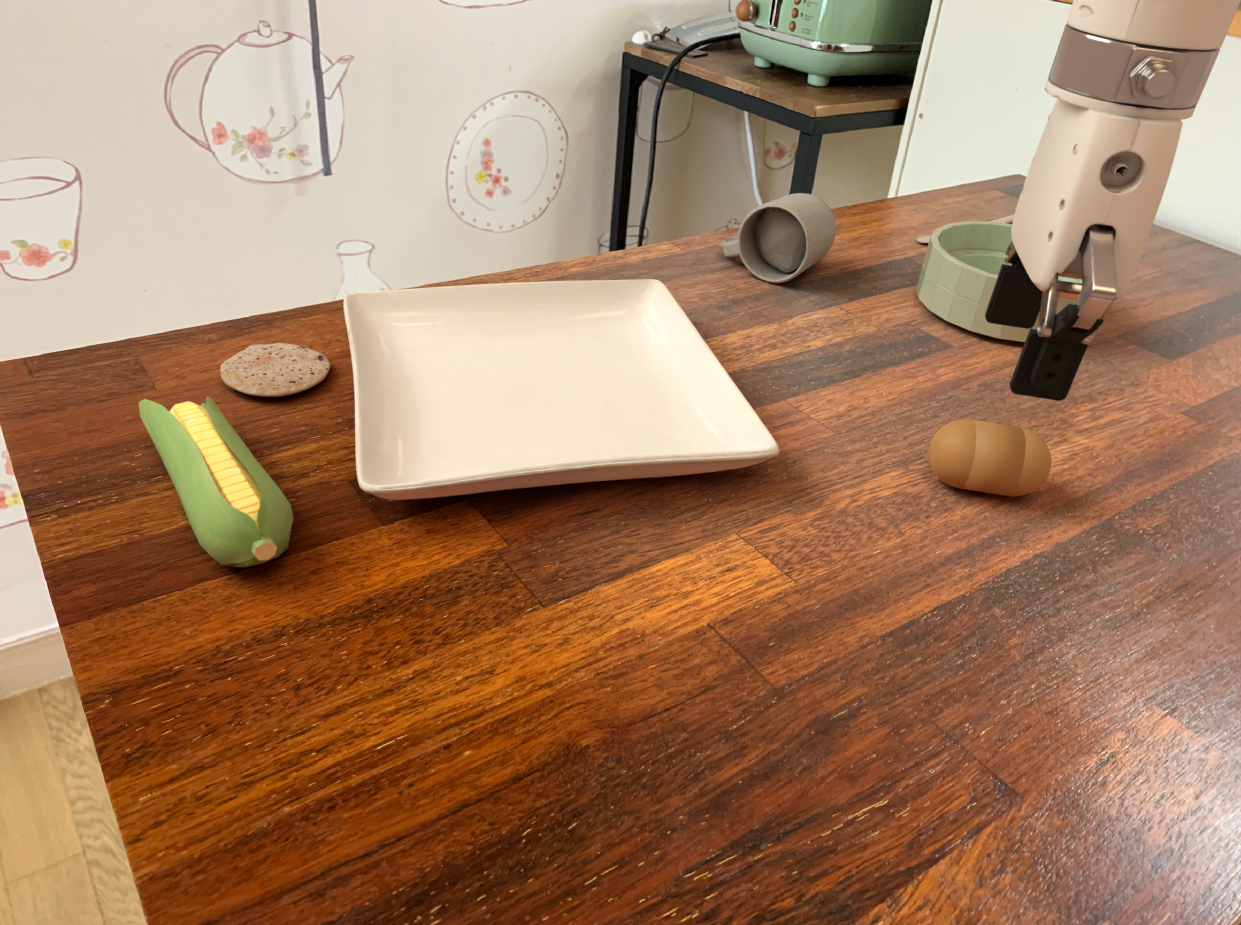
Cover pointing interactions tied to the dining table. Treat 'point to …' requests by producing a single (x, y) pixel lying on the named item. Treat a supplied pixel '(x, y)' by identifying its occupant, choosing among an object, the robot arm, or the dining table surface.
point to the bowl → (970, 276)
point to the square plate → (538, 389)
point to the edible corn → (219, 483)
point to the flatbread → (274, 369)
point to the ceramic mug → (783, 237)
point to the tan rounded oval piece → (989, 457)
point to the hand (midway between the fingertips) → (1021, 357)
